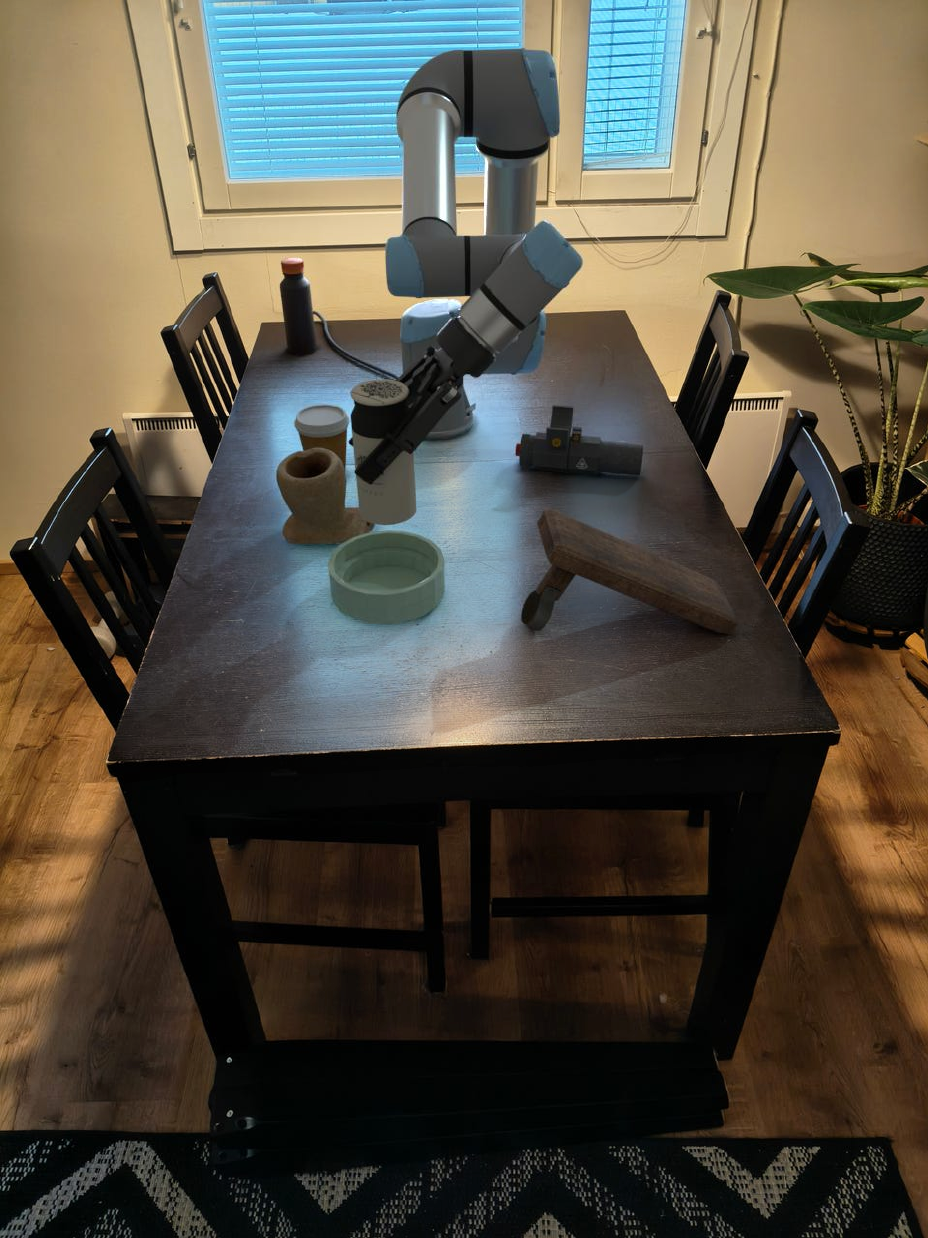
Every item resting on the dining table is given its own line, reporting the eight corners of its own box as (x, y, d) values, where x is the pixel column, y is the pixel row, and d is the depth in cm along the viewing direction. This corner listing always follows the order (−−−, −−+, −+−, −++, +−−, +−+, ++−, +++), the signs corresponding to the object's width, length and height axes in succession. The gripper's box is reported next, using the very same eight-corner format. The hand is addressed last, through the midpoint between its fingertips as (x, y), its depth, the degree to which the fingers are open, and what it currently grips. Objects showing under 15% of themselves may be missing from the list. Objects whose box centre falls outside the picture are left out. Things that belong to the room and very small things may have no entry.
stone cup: (276, 557, 144) (263, 472, 135) (290, 517, 153) (278, 436, 144) (372, 558, 143) (365, 473, 134) (380, 518, 153) (374, 436, 144)
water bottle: (314, 354, 211) (305, 265, 199) (285, 354, 211) (273, 265, 199) (318, 343, 216) (309, 256, 204) (290, 343, 216) (279, 256, 204)
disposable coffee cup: (364, 470, 166) (359, 408, 159) (336, 494, 159) (330, 430, 152) (319, 460, 170) (312, 399, 162) (290, 483, 163) (282, 420, 155)
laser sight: (638, 488, 160) (645, 436, 154) (512, 477, 164) (513, 426, 158) (640, 462, 168) (647, 411, 162) (519, 452, 171) (521, 402, 165)
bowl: (314, 583, 138) (310, 550, 134) (411, 552, 145) (409, 519, 141) (361, 642, 127) (358, 607, 123) (465, 605, 133) (464, 571, 130)
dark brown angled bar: (659, 654, 142) (490, 588, 131) (720, 579, 134) (545, 503, 124) (677, 699, 133) (498, 632, 123) (742, 622, 126) (558, 544, 115)
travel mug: (390, 492, 132) (382, 373, 121) (428, 512, 128) (423, 390, 117) (347, 512, 128) (335, 390, 117) (385, 533, 123) (375, 409, 112)
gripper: (516, 386, 109) (389, 517, 116) (481, 326, 125) (371, 444, 132) (472, 346, 105) (344, 484, 112) (441, 289, 121) (331, 413, 128)
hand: (359, 462), depth 122 cm, fingers closed on travel mug, 8 cm apart
